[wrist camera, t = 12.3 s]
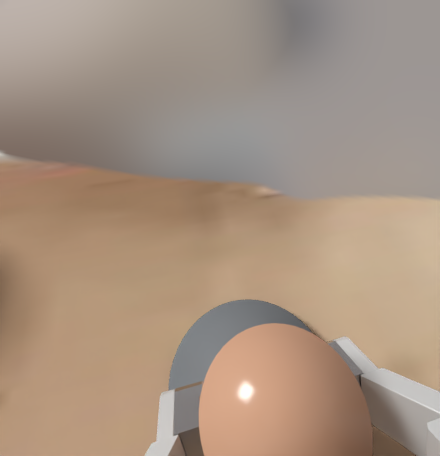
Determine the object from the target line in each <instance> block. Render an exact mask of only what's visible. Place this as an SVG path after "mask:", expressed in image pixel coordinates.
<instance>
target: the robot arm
mask: <svg viewBox="0 0 440 456" xmlns="http://www.w3.org/2000/svg"><path fill="white" fill-rule="evenodd" d="M326 343H327V344H328V345H330V346H331V347H332V348H333V349H334V350H335V351H336V352H337V353H338V354H339V355H340V356H341V358H342V359H343V360H344V361H345V362H346V364H347V365H348V366H349V368H350V370H351V371H352V373H353V374H354V376H355V378H356V380H357V381H358V383H359V385H360V387H361V390H362V392H363V395H364V397H365V400H366V403H367V406H368V410H369V413H370V418H371V424H372V425H374V426H375V427H376V428H378V429H379V430H381V431H382V432H384V433H385V434H387V435H388V436H389V437H391V438H392V439H394V440H395V441H397V442H398V443H399V444H401V445H402V446H404V447H405V448H407V449H408V450H410V451H411V452H412V453H414V454H415V455H417V456H440V392H439V391H437V390H434V389H432V388H429V387H427V386H425V385H422V384H420V383H418V382H415V381H413V380H410V379H408V378H406V377H403V376H401V375H399V374H396V373H394V372H392V371H389V370H387V369H384V368H380V369H378V368H377V367H376V366H375V365H374V364H373V363H372V361H371V360H370V359H369V358H368V357H367V356H366V355H365V354H364V353H363V352H362V351H361V350H360V349H359V348H358V347H357V346H356V345H355V344H354V343H353V342H352V341H351V340H350V339H349V338H348V337H346V336H344V337H341V338H338V339H335V340H333V341H328V342H326ZM202 386H203V381H200V382H197V383H193V384H190V385H186V386H183V387H179V388H176V389H173V390H169V391H166V392H162V393H161V396H160V403H159V415H158V428H157V440H156V442H154V443H152V444H151V445H150V447H149V449H148V451H147V452H146V454H145V456H204V453H203V449H202V444H201V439H200V431H199V403H200V396H201V391H202Z"/></svg>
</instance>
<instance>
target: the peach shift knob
mask: <svg viewBox="0 0 440 456" xmlns="http://www.w3.org/2000/svg"><path fill="white" fill-rule="evenodd" d="M199 431H200V439H201V444H202V449H203V453H204V456H373V432H372V424H371V418H370V413H369V410H368V406H367V403H366V400H365V397H364V395H363V392H362V390H361V387H360V385H359V383H358V381H357V380H356V378H355V376H354V374H353V373H352V371H351V370H350V368H349V366H348V365H347V364H346V362H345V361H344V360H343V359H342V358H341V356H340V355H339V354H338V353H337V352H336V351H335V350H334V349H333V348H332V347H331V346H330V345H328V344H327V343H326V342H325V341H323V340H322V339H321V338H319V337H317V336H316V335H314V334H313V333H311V332H309V331H306V330H304V329H302V328H299V327H296V326H292V325H287V324H279V323H270V324H262V325H257V326H254V327H251V328H249V329H246V330H244V331H243V332H241V333H239V334H237V335H236V336H235V337H233V338H232V339H231V340H229V341H228V342H227V343H226V344H225V345H224V346H223V347H222V349H221V350H220V351H219V353H218V354H217V355H216V357H215V358H214V360H213V362H212V363H211V365H210V367H209V370H208V372H207V374H206V377H205V380H204V383H203V386H202V391H201V396H200V403H199Z"/></svg>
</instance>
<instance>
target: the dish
mask: <svg viewBox="0 0 440 456" xmlns="http://www.w3.org/2000/svg"><path fill="white" fill-rule="evenodd" d="M270 323H279V324H287V325H292V326H296V327H299V328H302V329H304V330H306V331H309V332H311V330H310V329H309V328H308V327H307V326H306V325H305V324H304V323H303V322H302V321H301V320H299V319H298V318H297V317H296V316H294V315H293V314H291V313H290V312H288V311H287V310H285V309H283V308H281V307H279V306H277V305H274V304H271V303H268V302H264V301H259V300H237V301H232V302H228V303H225V304H222V305H220V306H218V307H216V308H214V309H212V310H210V311H209V312H207V313H206V314H204V315H203V316H202V317H201V318H200V319H199V320H197V321H196V322H195V323H194V325H193V326H192V327H191V328H190V329H189V330H188V332H187V333H186V335H185V336H184V338H183V339H182V341H181V343H180V345H179V347H178V349H177V352H176V355H175V357H174V360H173V364H172V368H171V372H170V379H169V390H173V389H176V388H179V387H183V386H186V385H190V384H193V383H197V382H200V381H203V383H204V380H205V377H206V374H207V372H208V370H209V367H210V365H211V363H212V362H213V360H214V358H215V357H216V355H217V354H218V353H219V351H220V350H221V349H222V347H223V346H224V345H225V344H226V343H227V342H228V341H229V340H231V339H232V338H233V337H235V336H236V335H237V334H239V333H241V332H243V331H244V330H246V329H249V328H251V327H254V326H257V325H262V324H270ZM311 333H312V332H311Z"/></svg>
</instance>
